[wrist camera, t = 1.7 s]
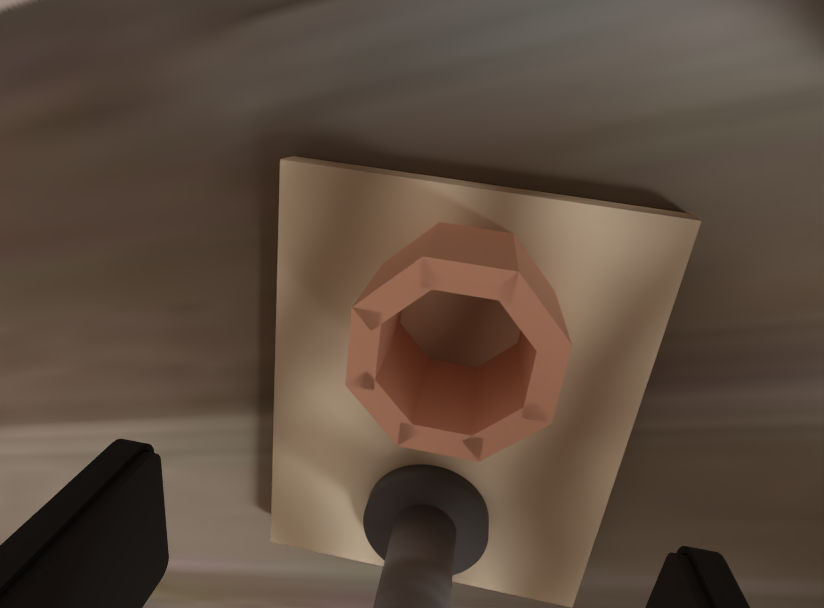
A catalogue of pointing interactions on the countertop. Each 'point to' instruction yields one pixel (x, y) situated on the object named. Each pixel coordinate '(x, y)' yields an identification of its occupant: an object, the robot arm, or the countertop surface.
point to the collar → (448, 382)
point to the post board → (466, 345)
